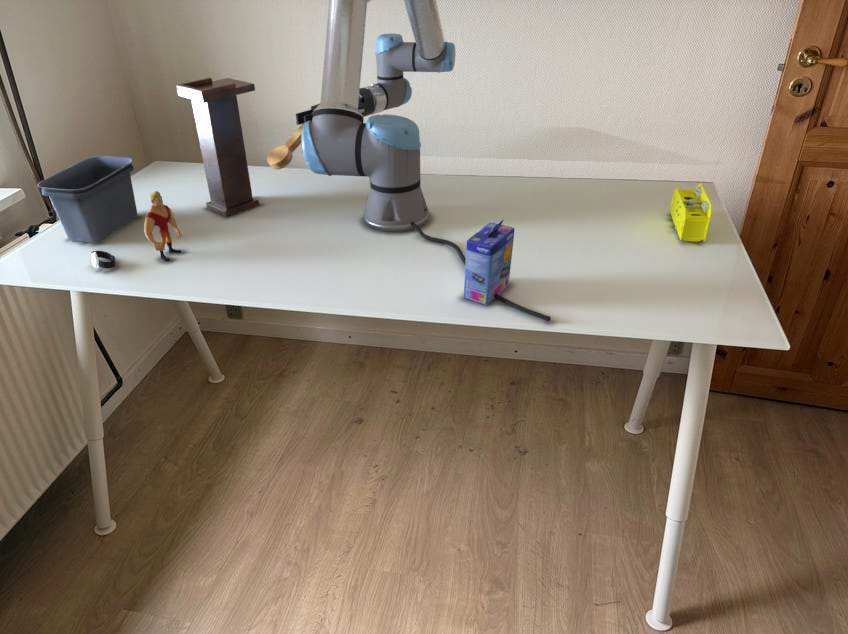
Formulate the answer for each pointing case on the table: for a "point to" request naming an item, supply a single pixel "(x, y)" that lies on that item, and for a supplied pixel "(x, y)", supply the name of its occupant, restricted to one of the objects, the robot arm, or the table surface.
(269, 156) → the wooden spoon
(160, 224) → the action figure
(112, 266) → the watch
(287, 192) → the table surface
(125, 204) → the storage bin
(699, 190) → the yellow toy chassis
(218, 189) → the pedestal lectern
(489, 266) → the ink cartridge box
